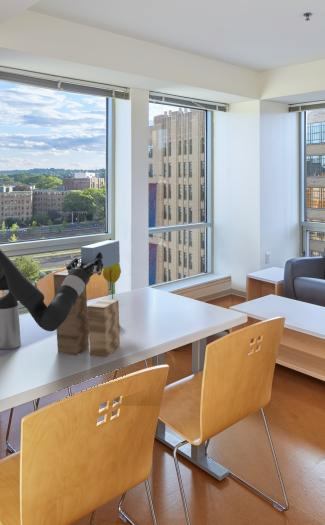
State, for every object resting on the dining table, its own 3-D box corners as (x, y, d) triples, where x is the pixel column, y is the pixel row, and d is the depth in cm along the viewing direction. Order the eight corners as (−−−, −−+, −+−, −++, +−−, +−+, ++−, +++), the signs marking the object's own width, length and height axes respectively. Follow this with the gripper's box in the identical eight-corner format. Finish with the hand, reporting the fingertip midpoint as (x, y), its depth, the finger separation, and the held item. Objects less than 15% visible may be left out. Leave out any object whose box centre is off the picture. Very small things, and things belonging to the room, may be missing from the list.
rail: (93, 272, 172) (92, 247, 171) (81, 271, 174) (80, 247, 172) (119, 262, 192) (119, 240, 191) (108, 261, 194) (108, 240, 193)
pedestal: (77, 355, 185) (73, 275, 180) (57, 352, 189) (53, 274, 183) (88, 347, 194) (85, 271, 188) (70, 344, 197) (66, 269, 191)
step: (106, 357, 182) (104, 307, 179) (90, 355, 185) (88, 306, 181) (119, 347, 193) (118, 299, 190) (104, 345, 196) (102, 298, 192)
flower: (107, 320, 230) (105, 260, 225) (123, 320, 229) (121, 260, 224) (103, 326, 221) (101, 263, 216) (120, 326, 221) (118, 263, 215)
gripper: (60, 290, 170) (80, 260, 182) (95, 293, 165) (113, 262, 177) (53, 274, 165) (74, 245, 177) (89, 277, 160) (108, 246, 172)
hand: (94, 254), depth 177 cm, fingers closed on rail, 5 cm apart
